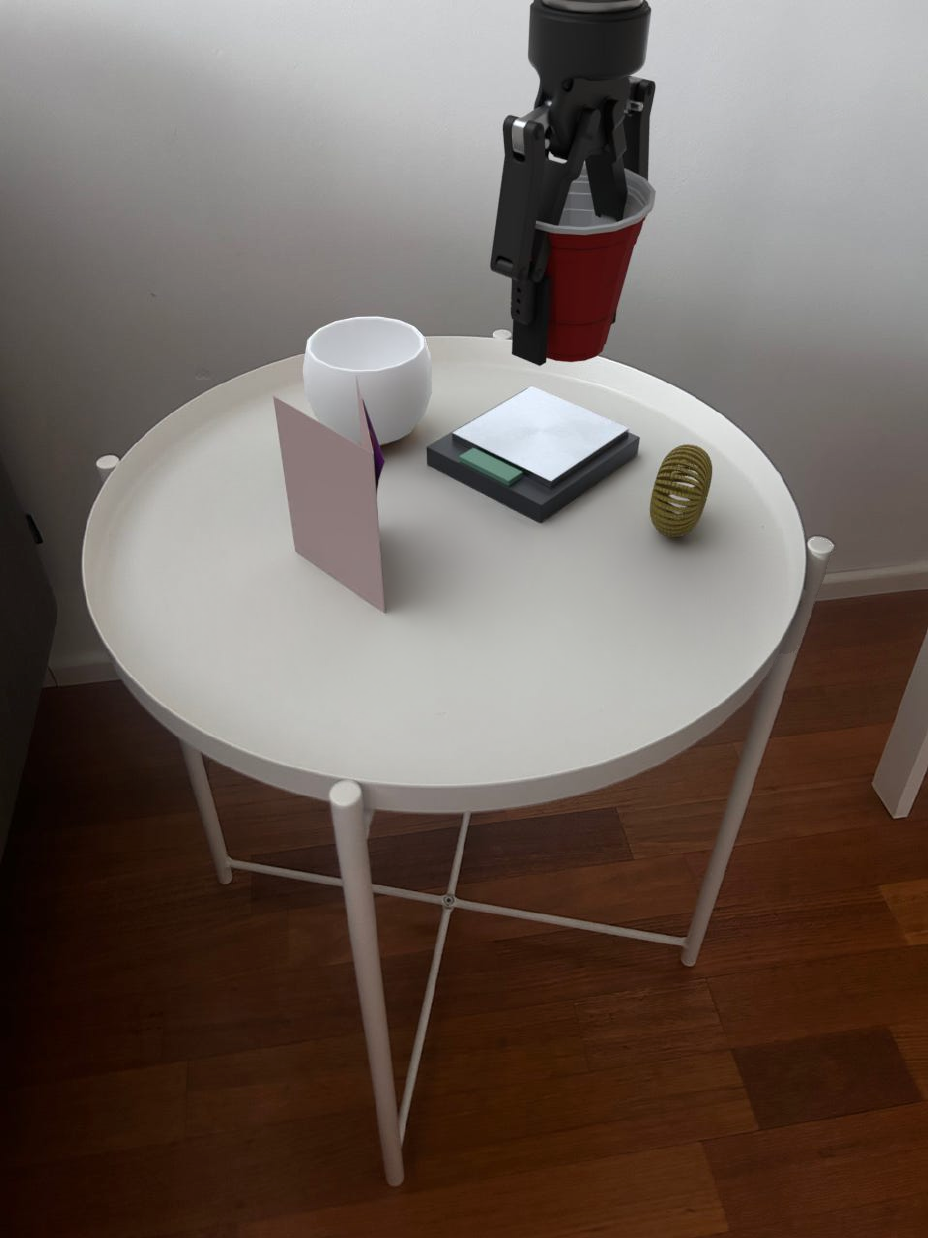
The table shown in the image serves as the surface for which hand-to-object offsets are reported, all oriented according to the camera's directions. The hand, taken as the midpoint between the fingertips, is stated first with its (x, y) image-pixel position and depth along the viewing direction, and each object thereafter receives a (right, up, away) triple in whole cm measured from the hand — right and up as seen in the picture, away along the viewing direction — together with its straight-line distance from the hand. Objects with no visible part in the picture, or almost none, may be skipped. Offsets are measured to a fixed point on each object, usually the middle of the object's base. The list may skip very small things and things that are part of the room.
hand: (564, 337), depth 78 cm
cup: (-17, -3, +23) cm, 29 cm away
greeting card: (-18, -18, +7) cm, 26 cm away
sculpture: (+11, -14, +12) cm, 21 cm away
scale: (-1, -6, +20) cm, 21 cm away
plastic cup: (0, -1, +1) cm, 1 cm away
